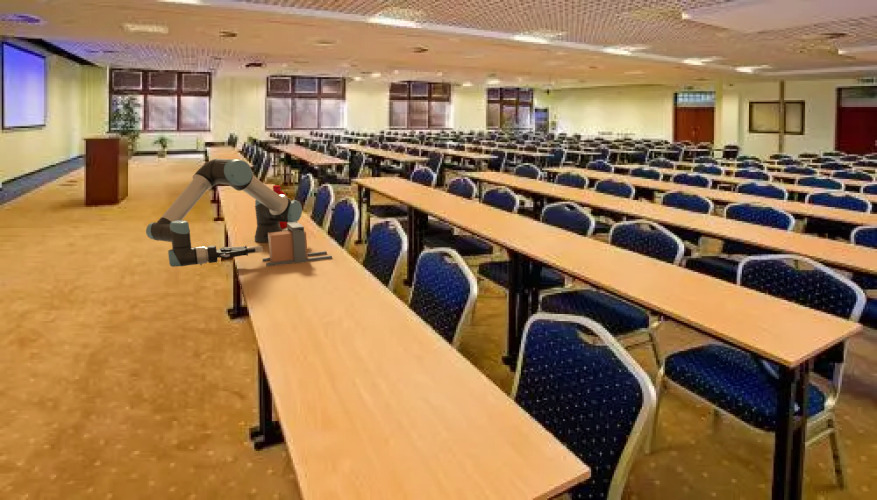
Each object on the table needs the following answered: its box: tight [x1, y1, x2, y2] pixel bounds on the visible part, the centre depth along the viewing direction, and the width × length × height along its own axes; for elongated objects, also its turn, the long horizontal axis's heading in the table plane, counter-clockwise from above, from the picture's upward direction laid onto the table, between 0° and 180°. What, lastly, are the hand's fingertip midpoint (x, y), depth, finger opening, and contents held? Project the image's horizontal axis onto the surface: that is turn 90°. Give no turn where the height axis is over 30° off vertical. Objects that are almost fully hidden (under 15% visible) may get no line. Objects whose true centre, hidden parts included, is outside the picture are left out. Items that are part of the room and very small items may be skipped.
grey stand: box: [261, 221, 333, 267], centre depth 283 cm, size 30×13×16 cm, turn 115°
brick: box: [268, 230, 309, 262], centre depth 282 cm, size 16×7×13 cm, turn 115°
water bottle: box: [272, 184, 289, 230], centre depth 357 cm, size 9×11×25 cm
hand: (262, 248), depth 277 cm, fingers closed
